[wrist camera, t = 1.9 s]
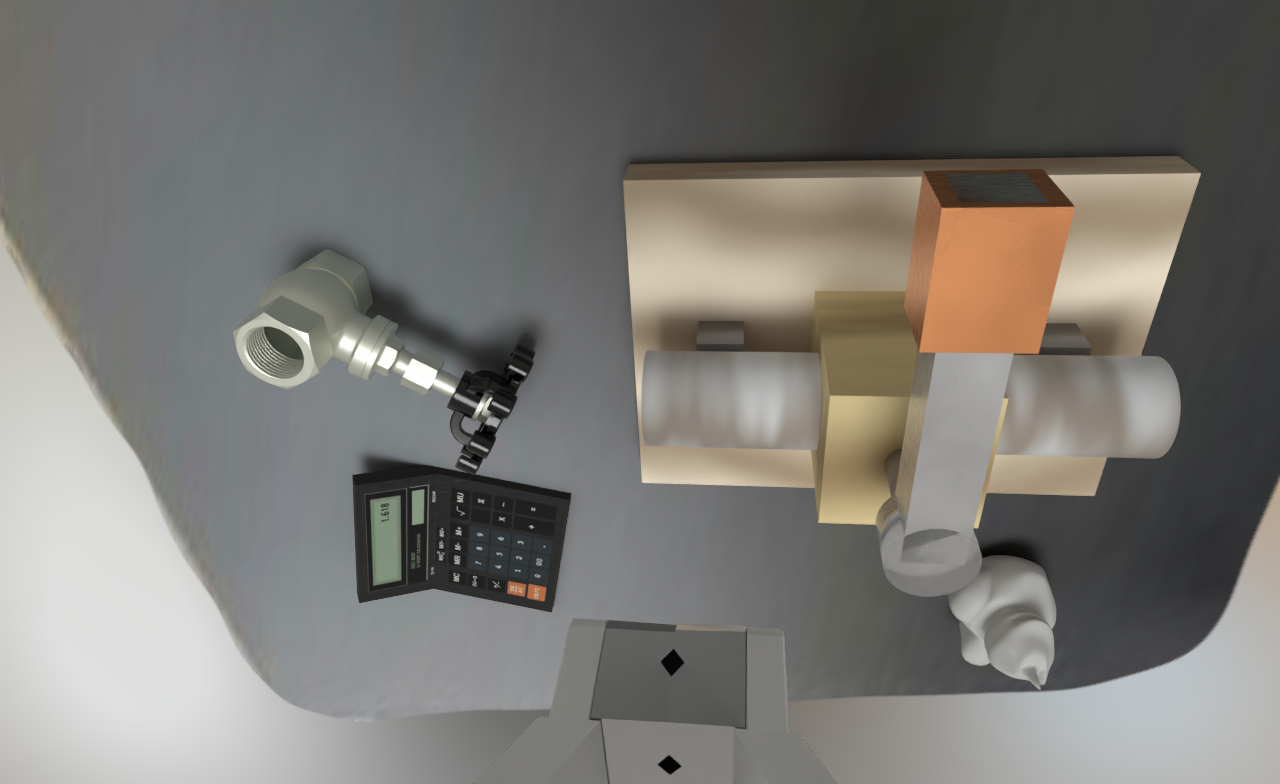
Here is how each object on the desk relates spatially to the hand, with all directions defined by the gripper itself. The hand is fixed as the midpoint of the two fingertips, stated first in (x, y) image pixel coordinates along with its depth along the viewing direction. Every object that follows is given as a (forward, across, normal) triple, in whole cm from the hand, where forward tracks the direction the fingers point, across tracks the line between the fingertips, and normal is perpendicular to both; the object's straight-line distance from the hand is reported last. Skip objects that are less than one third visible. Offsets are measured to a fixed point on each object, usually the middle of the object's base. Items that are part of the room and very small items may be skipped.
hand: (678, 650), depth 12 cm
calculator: (+28, +15, +24) cm, 39 cm away
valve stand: (+27, -7, +10) cm, 30 cm away
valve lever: (+14, -7, +5) cm, 17 cm away
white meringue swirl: (+27, -15, +26) cm, 41 cm away
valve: (+27, +15, +10) cm, 33 cm away
